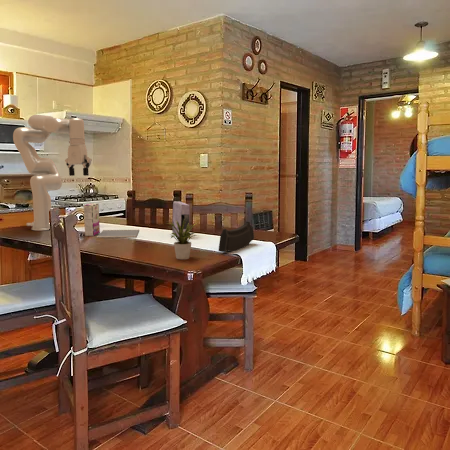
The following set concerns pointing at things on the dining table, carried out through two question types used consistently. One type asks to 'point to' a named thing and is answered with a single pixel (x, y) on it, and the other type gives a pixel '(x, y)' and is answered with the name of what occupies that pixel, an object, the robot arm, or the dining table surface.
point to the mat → (118, 234)
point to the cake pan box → (180, 215)
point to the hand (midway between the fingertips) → (78, 175)
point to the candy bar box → (91, 219)
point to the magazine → (236, 238)
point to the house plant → (182, 241)
